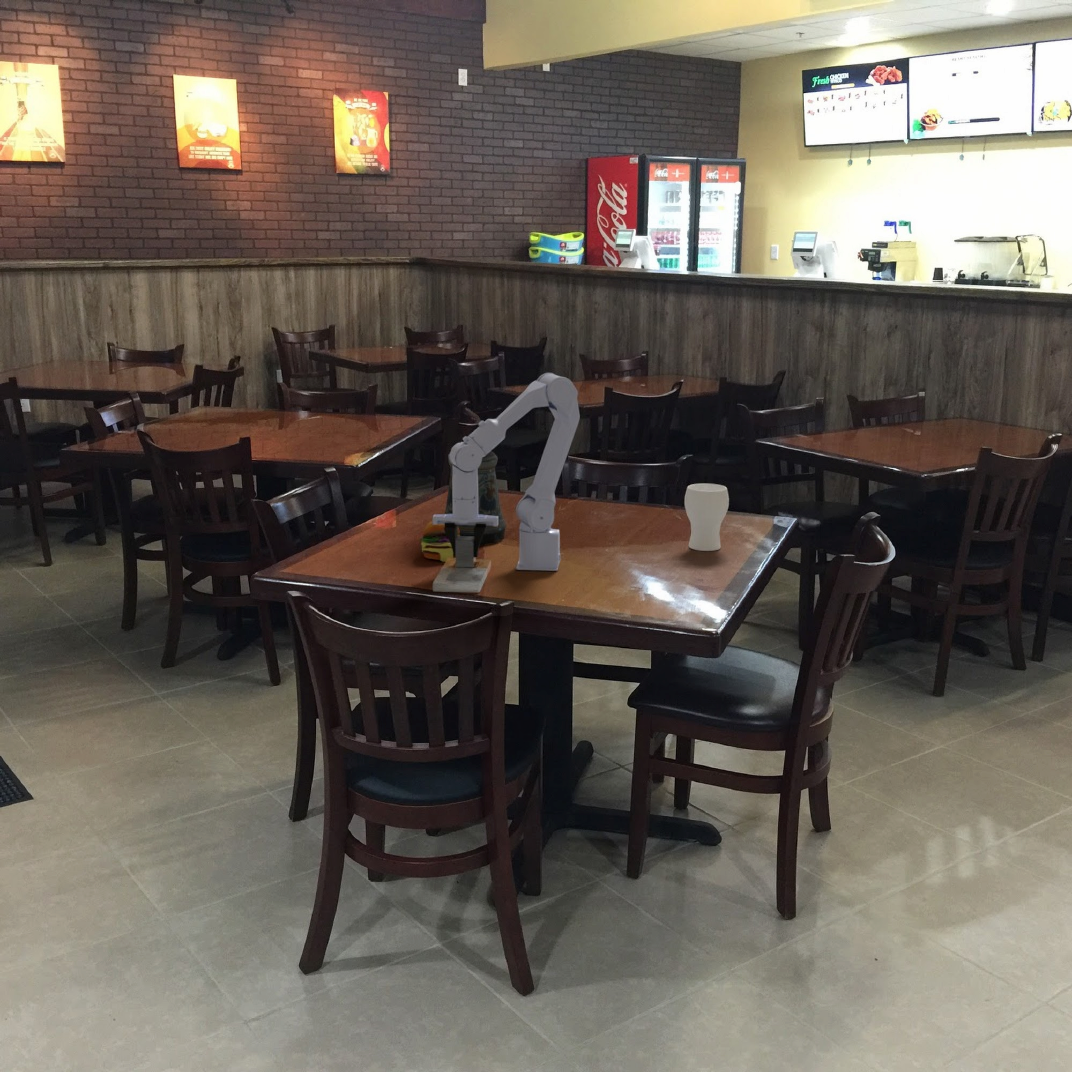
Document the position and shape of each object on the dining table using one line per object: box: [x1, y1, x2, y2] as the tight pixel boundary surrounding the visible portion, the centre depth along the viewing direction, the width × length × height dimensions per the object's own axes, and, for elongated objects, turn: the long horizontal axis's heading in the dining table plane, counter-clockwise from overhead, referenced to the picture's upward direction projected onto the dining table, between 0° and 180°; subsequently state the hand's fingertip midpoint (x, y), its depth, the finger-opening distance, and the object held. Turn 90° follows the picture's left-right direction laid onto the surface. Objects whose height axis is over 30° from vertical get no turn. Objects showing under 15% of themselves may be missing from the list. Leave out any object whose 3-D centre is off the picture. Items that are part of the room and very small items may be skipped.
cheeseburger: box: [420, 520, 460, 563], centre depth 268 cm, size 10×11×10 cm
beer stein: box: [444, 439, 507, 546], centre depth 284 cm, size 16×19×25 cm
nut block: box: [455, 536, 477, 568], centre depth 254 cm, size 4×4×6 cm
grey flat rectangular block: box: [432, 558, 492, 594], centre depth 250 cm, size 10×20×2 cm, turn 175°
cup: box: [684, 483, 730, 552], centre depth 275 cm, size 11×11×15 cm
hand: (466, 555), depth 254 cm, fingers closed on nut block, 4 cm apart
